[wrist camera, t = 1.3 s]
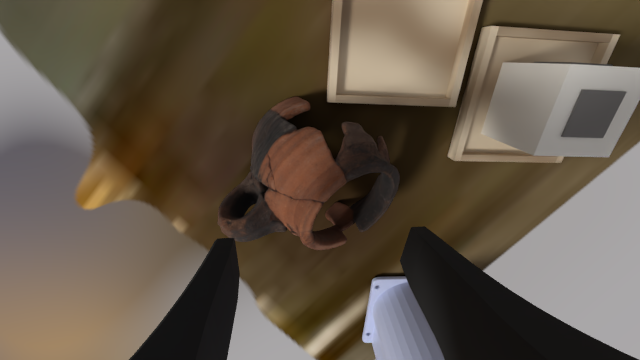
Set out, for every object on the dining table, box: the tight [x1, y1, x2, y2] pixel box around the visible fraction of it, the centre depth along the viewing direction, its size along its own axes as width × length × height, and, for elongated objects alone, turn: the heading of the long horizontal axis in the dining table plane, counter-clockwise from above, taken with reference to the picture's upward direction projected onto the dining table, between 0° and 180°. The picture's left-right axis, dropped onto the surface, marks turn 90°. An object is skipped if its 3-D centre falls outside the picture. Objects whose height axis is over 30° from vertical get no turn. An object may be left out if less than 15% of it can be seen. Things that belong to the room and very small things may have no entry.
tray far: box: [448, 26, 620, 163], centre depth 19 cm, size 9×9×1 cm
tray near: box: [327, 0, 483, 107], centre depth 17 cm, size 9×9×1 cm
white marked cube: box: [481, 62, 640, 157], centre depth 17 cm, size 5×5×5 cm
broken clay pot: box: [218, 97, 400, 250], centre depth 19 cm, size 12×10×8 cm
